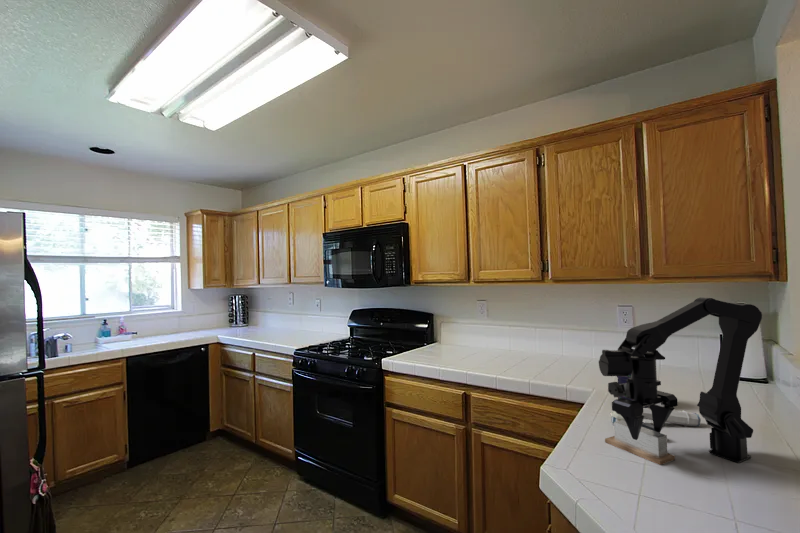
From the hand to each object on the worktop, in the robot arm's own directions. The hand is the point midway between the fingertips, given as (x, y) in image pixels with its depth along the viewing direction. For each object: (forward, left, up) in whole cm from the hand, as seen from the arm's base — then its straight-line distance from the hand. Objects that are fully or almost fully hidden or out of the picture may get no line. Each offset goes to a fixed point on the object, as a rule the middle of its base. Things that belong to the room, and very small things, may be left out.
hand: (646, 435), depth 100 cm
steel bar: (+2, 0, -4) cm, 4 cm away
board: (+2, 0, -5) cm, 5 cm away
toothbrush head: (+12, -22, -5) cm, 26 cm away
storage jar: (+27, -35, -5) cm, 44 cm away
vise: (+7, -8, -5) cm, 11 cm away
